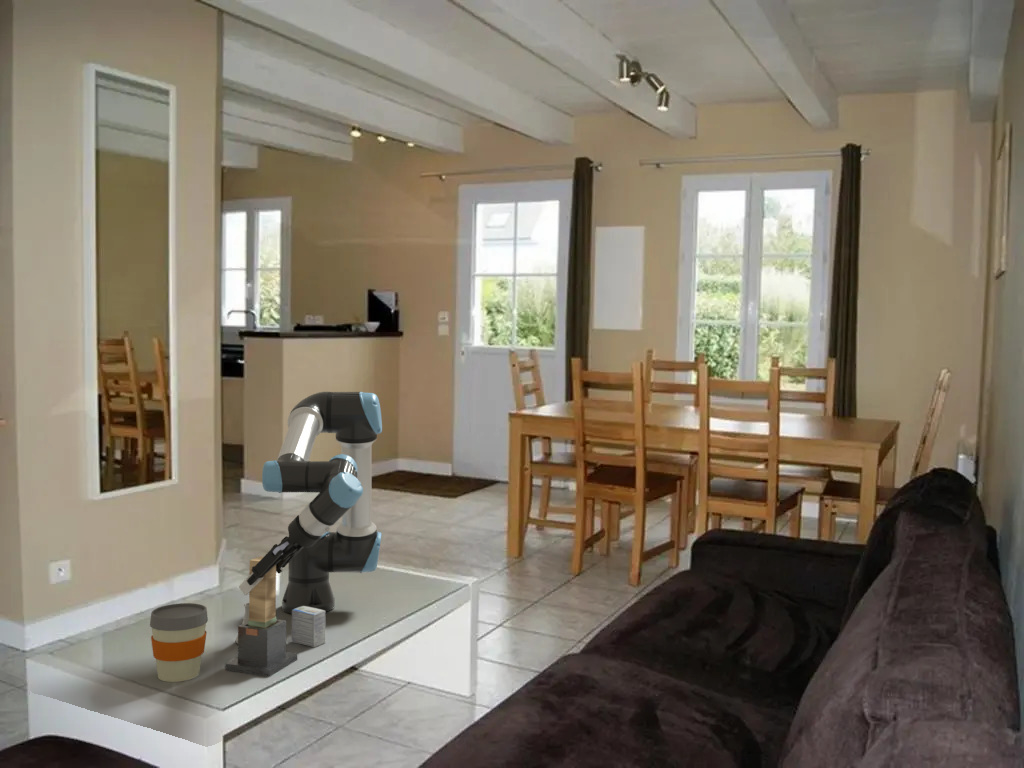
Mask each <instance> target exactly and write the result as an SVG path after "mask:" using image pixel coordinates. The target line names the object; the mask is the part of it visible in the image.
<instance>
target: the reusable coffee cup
mask: <svg viewBox="0 0 1024 768" xmlns="http://www.w3.org/2000/svg"><path fill="white" fill-rule="evenodd" d="M208 620H209V618H208V610H207V606H206V605H203V604H201V603H200V604H199V603H192V602H191V603H190V602H185V603H184V602H182V603H173V604H167V605H161V606H160V607H157V608H155V609H153V610H151V613H150V620H149V621H150V622H149V627H151V632H152V633H151V634H152V635H151V636H150V641H151V647H152V654H153V655H152V656H153V658H154V659H155V663H156V670H157V677H158V679H159V680H160V681H163V682H167V683H175V682H176V683H177V682H183V681H184V682H185V681H190V680H191V679H192V680H193V679H194V678H196V677H198V676H199V675H200V670H201V662H202V655H203V654H204V652H205V647H206V641H207V631H206V627H207V623H208V622H209V621H208Z"/></svg>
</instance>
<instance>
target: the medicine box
mask: <svg viewBox="0 0 1024 768" xmlns="http://www.w3.org/2000/svg"><path fill="white" fill-rule="evenodd" d="M291 642H292V643H295V644H300V645H303V646H307V647H312V648H316V647H319V646H321V645H323V644H325V643H326V612H325V610H321V609H317V608H312V607H307V606H301V607H298V608H295V609H293V610H292V614H291Z"/></svg>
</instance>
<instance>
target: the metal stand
mask: <svg viewBox="0 0 1024 768" xmlns="http://www.w3.org/2000/svg"><path fill="white" fill-rule="evenodd" d="M237 636H238V644H237V657H234V658H233V659H232V660H229V661H227V662H226V663H224V665H225V666H224V668H225V671H229V672H230V671H231V672H238V673H245V674H250V675H258V676H264V677H271V676H273V675H274V674H276V673H278V672H279V671H281V670H283V669H284V668H286V667H288V666H289V665H291V664H292V663H294V662H295V661H298V653H295V652H288V651H287V620H285V619H277V618H276V622H275V624H274V625H272V626H270V627H268V628H258V627H251V626H249V625H248V622H246V623H244V624H242V623H241V624H240V625H237Z"/></svg>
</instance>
